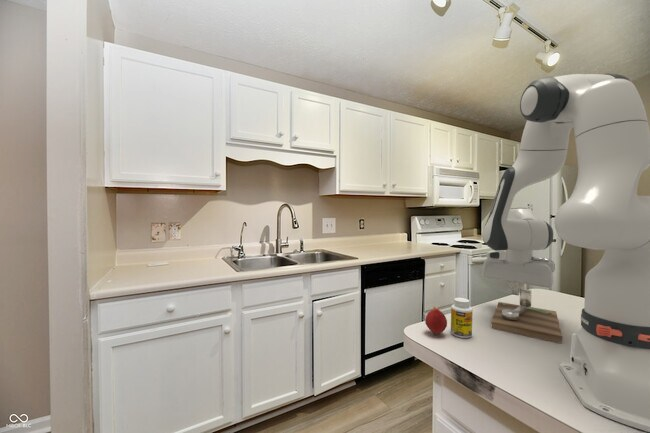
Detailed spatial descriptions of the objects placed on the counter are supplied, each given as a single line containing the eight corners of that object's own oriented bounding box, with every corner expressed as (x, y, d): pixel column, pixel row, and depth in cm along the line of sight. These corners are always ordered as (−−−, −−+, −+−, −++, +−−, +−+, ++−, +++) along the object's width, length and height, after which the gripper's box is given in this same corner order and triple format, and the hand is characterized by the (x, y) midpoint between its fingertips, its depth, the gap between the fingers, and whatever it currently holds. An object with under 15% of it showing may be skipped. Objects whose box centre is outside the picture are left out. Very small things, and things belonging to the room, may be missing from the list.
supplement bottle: (453, 338, 80) (453, 302, 79) (448, 329, 85) (449, 296, 85) (474, 339, 79) (475, 303, 78) (468, 331, 84) (469, 297, 84)
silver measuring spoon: (515, 321, 85) (516, 300, 85) (499, 316, 89) (499, 297, 89) (534, 309, 96) (535, 290, 95) (519, 305, 99) (519, 287, 99)
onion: (443, 330, 85) (443, 303, 85) (449, 339, 79) (450, 310, 79) (423, 329, 85) (423, 303, 85) (428, 338, 80) (428, 310, 79)
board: (561, 343, 76) (561, 335, 76) (491, 328, 86) (491, 321, 86) (555, 317, 95) (556, 310, 95) (498, 307, 105) (498, 301, 105)
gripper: (556, 257, 93) (554, 299, 93) (486, 250, 107) (485, 286, 108) (554, 260, 88) (552, 304, 89) (481, 252, 102) (480, 290, 103)
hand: (515, 294), depth 98 cm, fingers closed
